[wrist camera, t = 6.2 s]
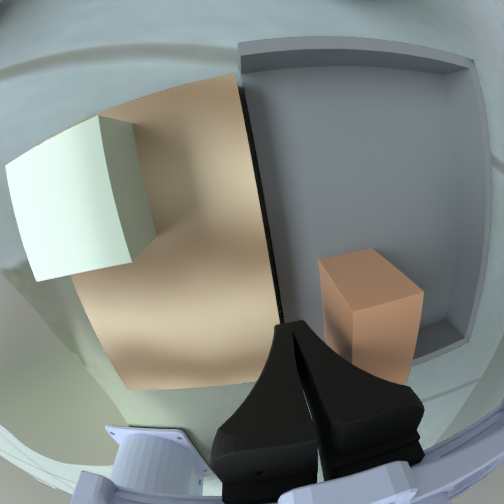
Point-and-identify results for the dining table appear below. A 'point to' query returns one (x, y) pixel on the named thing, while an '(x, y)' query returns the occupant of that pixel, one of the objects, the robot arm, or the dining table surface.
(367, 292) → the tile terracotta
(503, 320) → the dining table surface
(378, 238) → the tray
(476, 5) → the dining table surface
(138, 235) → the tile sage
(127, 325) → the board
